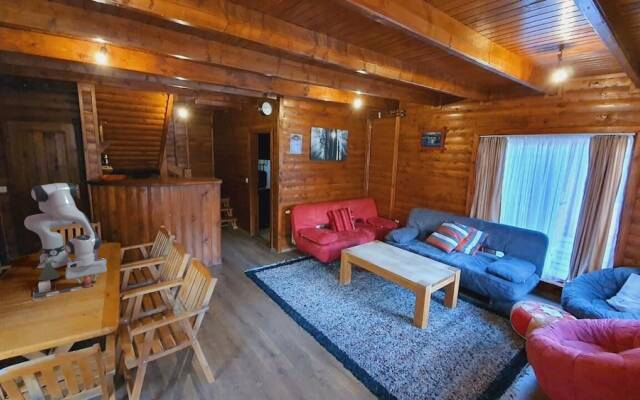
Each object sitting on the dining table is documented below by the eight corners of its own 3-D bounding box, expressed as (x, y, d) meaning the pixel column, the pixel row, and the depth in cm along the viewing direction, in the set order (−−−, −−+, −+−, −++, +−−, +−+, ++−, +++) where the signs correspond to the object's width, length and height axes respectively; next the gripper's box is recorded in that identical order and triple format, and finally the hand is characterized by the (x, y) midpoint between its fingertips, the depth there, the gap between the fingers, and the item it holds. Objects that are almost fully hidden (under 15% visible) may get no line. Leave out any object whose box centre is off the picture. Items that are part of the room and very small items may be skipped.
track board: (33, 297, 168) (33, 296, 168) (93, 284, 186) (93, 283, 186) (32, 300, 164) (32, 299, 164) (94, 287, 183) (94, 286, 182)
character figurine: (29, 287, 178) (25, 259, 175) (33, 281, 185) (29, 255, 182) (63, 281, 187) (60, 255, 184) (65, 276, 194) (62, 251, 190)
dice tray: (34, 289, 175) (34, 287, 175) (56, 285, 182) (56, 283, 182) (33, 296, 168) (32, 294, 168) (56, 291, 175) (56, 289, 174)
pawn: (83, 285, 182) (82, 272, 181) (91, 283, 185) (90, 270, 183) (84, 288, 179) (82, 274, 178) (92, 286, 182) (91, 273, 180)
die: (39, 289, 175) (38, 282, 174) (51, 287, 178) (50, 280, 178) (39, 293, 172) (38, 285, 171) (50, 290, 175) (49, 283, 174)
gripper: (105, 255, 188) (107, 275, 191) (64, 262, 175) (66, 283, 177) (106, 259, 184) (108, 279, 186) (64, 266, 170) (66, 287, 173)
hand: (87, 281), depth 182 cm, fingers open, 5 cm apart
